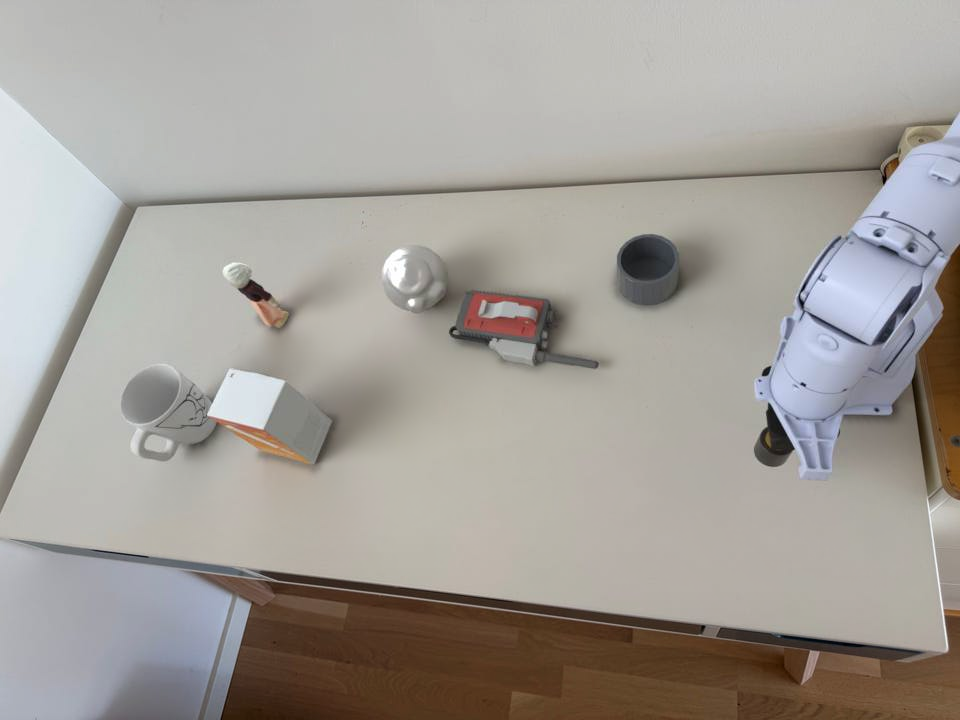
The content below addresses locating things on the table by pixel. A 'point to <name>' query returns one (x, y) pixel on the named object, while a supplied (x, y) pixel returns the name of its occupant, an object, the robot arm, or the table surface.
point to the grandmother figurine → (255, 294)
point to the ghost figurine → (414, 278)
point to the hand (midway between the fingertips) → (780, 434)
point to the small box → (270, 415)
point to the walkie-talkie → (511, 327)
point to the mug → (165, 410)
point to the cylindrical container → (647, 269)
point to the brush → (769, 451)
